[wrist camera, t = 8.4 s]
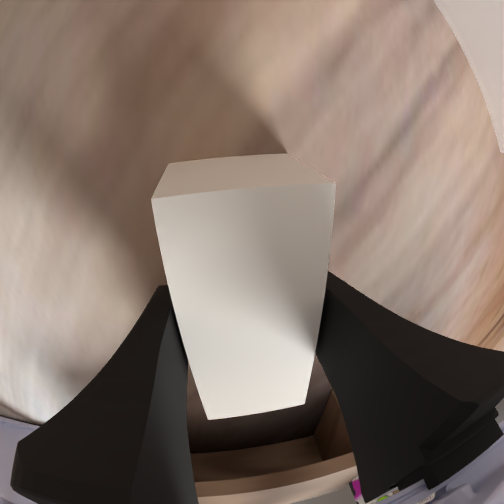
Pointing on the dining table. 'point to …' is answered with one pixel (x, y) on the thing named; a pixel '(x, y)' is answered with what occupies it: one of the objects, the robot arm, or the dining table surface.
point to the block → (246, 274)
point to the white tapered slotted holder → (482, 49)
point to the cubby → (280, 467)
